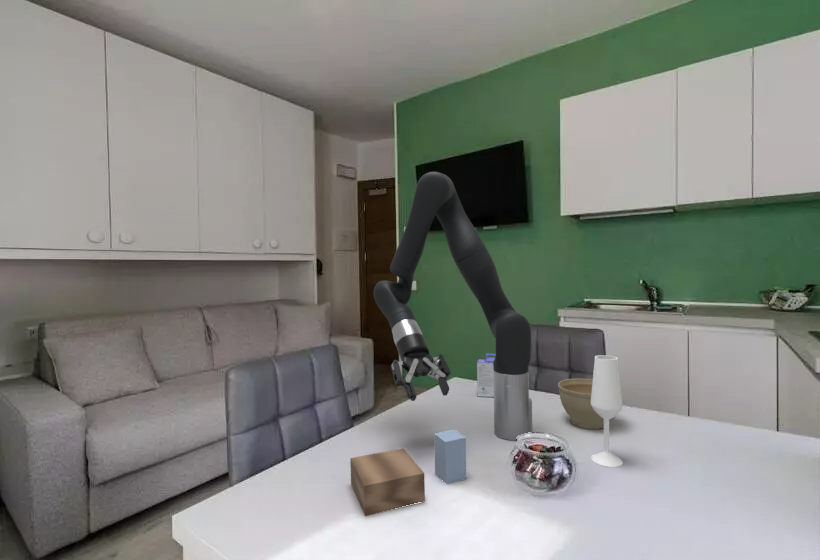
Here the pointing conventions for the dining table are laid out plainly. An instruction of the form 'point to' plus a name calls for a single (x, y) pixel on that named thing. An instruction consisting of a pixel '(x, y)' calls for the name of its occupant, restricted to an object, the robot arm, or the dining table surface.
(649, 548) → the dining table surface
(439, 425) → the dining table surface
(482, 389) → the ink cartridge box
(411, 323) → the robot arm
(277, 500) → the dining table surface
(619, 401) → the champagne flute
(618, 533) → the dining table surface
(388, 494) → the walnut block
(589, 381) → the planter bowl
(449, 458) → the slate blue pillar block
